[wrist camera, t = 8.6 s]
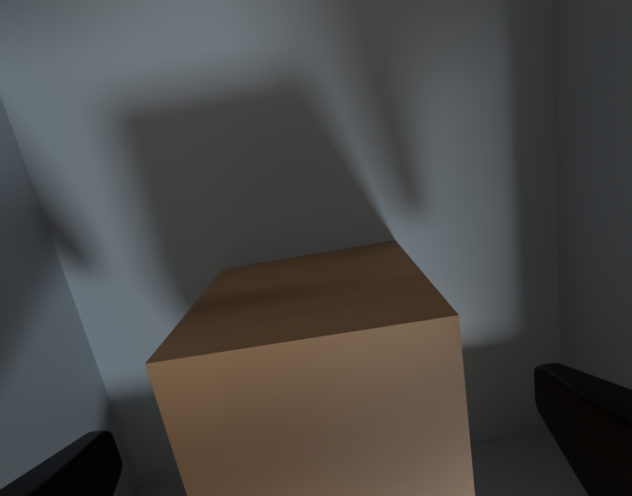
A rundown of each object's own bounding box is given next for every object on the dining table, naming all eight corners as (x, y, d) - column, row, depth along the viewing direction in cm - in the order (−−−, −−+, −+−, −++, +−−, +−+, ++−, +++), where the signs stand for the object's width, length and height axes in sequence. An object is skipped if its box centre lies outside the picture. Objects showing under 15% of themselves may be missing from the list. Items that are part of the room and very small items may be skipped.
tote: (573, 429, 13) (719, 588, 8) (135, 490, 14) (39, 666, 9) (564, -326, 8) (894, -970, 4) (-103, -164, 9) (-562, -506, 4)
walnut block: (415, 393, 12) (480, 561, 7) (259, 416, 12) (218, 593, 7) (395, 240, 11) (458, 315, 6) (222, 269, 11) (144, 363, 6)
